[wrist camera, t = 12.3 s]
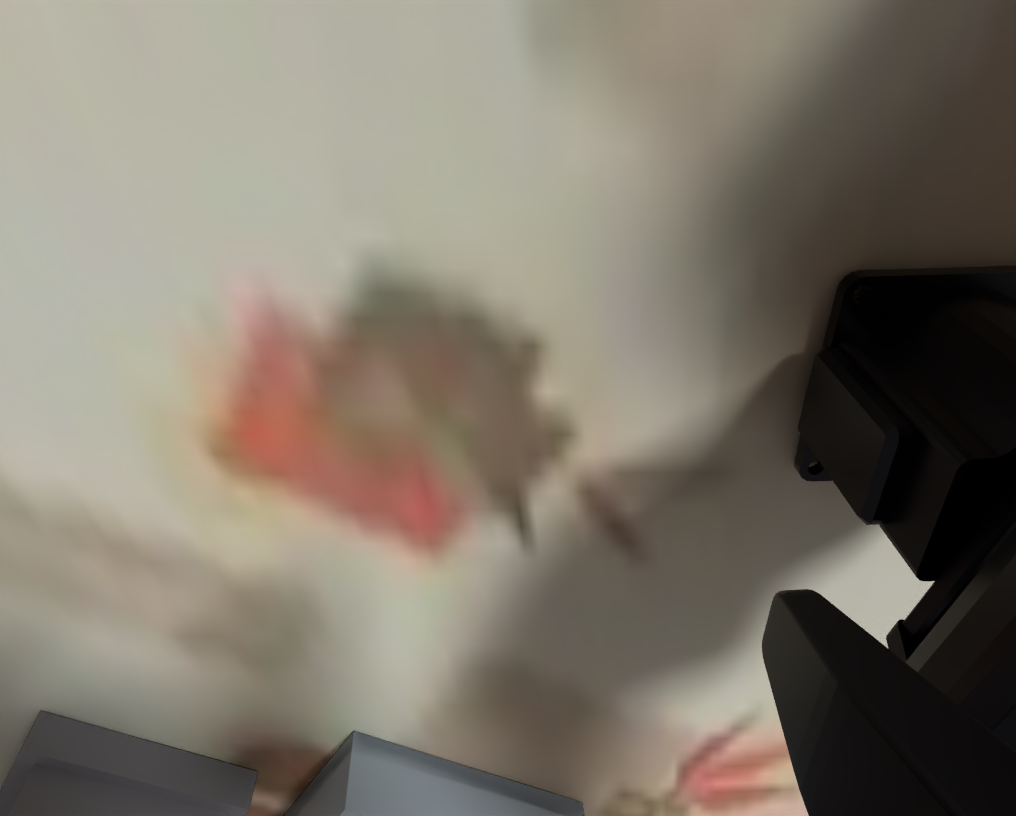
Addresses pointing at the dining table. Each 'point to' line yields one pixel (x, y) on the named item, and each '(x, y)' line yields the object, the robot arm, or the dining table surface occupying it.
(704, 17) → the dining table surface
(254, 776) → the socket block
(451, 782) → the tray
